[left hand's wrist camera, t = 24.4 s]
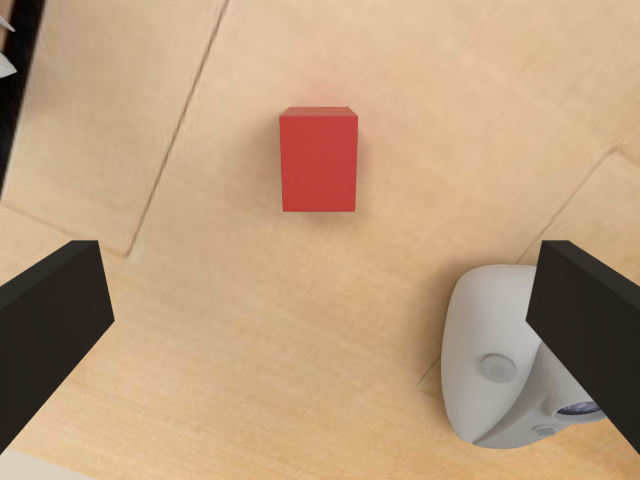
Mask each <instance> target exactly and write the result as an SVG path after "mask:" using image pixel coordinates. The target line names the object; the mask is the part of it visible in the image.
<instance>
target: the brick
mask: <svg viewBox="0 0 640 480" xmlns="http://www.w3.org/2000/svg"><path fill="white" fill-rule="evenodd" d="M357 133H358V116H357V115H356V114H355V113H354V112H353V111H352V110H351V109H350V108H349V107H290V108H288V109H287V110H286V111H285V112H284V113H283V114H282V115H281V116H280V144H281V172H282V200H283V211H284V212H354V211H355V197H356V165H357Z"/></svg>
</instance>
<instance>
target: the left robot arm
mask: <svg viewBox="0 0 640 480" xmlns="http://www.w3.org/2000/svg"><path fill="white" fill-rule="evenodd" d="M114 321H115V319H114V315H113V310H112V305H111V301H110V296H109V291H108V286H107V282H106V277H105V272H104V268H103V263H102V258H101V253H100V249H99V244H98V240H72V241H70V242H69V243H67V244H66V245H64V246H62V247H61V248H59V249H58V250H56V251H55V252H53V253H52V254H50V255H49V256H47V257H45V258H44V259H42V260H41V261H39V262H38V263H36V264H35V265H33V266H32V267H30V268H28V269H27V270H25V271H24V272H22V273H21V274H19V275H18V276H16V277H15V278H13V279H11V280H10V281H8V282H7V283H5V284H4V285H2V286H1V287H0V455H1V454H2V452H3V451H4V450H5V449H6V448H7V447H8V445H9V444H10V443H11V442H12V441H13V440H14V438H15V437H16V436H17V435H18V434H19V432H20V431H21V430H22V429H23V428H24V427H25V425H26V424H27V423H28V422H29V421H30V420H31V418H32V417H33V416H34V415H35V414H36V413H37V411H38V410H39V409H40V408H41V407H42V405H43V404H44V403H45V402H46V401H47V400H48V398H49V397H50V396H51V395H52V394H53V393H54V391H55V390H56V389H57V388H58V387H59V386H60V384H61V383H62V382H63V381H64V380H65V379H66V377H67V376H68V375H69V374H70V373H71V371H72V370H73V369H74V368H75V367H76V366H77V364H78V363H79V362H80V361H81V360H82V359H83V357H84V356H85V355H86V354H87V353H88V352H89V350H90V349H91V348H92V347H93V346H94V345H95V343H96V342H97V341H98V340H99V339H100V337H101V336H102V335H103V334H104V333H105V332H106V330H107V329H108V328H109V327H110V326H111V325H112V323H113V322H114ZM525 321H526V322H527V323H528V325H529V326H530V327H531V328H532V329H533V330H534V332H535V333H536V334H537V335H538V336H539V337H540V339H541V340H542V341H543V342H544V343H545V345H546V346H547V347H548V348H549V349H550V350H551V352H552V353H553V354H554V355H555V356H556V357H557V359H558V360H559V361H560V362H561V363H562V364H563V366H564V367H565V368H566V369H567V370H568V371H569V373H570V374H571V375H572V376H573V377H574V379H575V380H576V381H577V382H578V383H579V384H580V386H581V387H582V388H583V389H584V390H585V391H586V393H587V394H588V395H589V396H590V397H591V398H592V400H593V401H594V402H595V403H596V404H597V405H598V407H599V408H600V409H601V410H602V411H603V413H604V414H605V415H606V416H607V417H608V418H609V420H610V421H611V422H612V423H613V424H614V425H615V427H616V428H617V429H618V430H619V431H620V432H621V434H622V435H623V436H624V437H625V438H626V440H627V441H628V442H629V443H630V444H631V445H632V447H633V448H634V449H635V450H636V451H637V452H638V454H639V455H640V287H639V286H638V285H636V284H635V283H633V282H632V281H630V280H629V279H627V278H625V277H624V276H622V275H621V274H619V273H618V272H616V271H615V270H613V269H612V268H610V267H608V266H607V265H605V264H604V263H602V262H601V261H599V260H598V259H596V258H595V257H593V256H591V255H590V254H588V253H587V252H585V251H584V250H582V249H581V248H579V247H578V246H576V245H574V244H573V243H571V242H570V241H568V240H542V244H541V249H540V253H539V258H538V263H537V268H536V272H535V277H534V282H533V286H532V291H531V296H530V301H529V305H528V310H527V315H526V319H525Z"/></svg>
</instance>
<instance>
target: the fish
mask: <svg viewBox="0 0 640 480" xmlns="http://www.w3.org/2000/svg"><path fill="white" fill-rule="evenodd" d="M0 25H2V26H4V27H6V28H7V29H9V30H11V31H13V32H14V31H15V30H14V29H13V28H12V27H11V26H10V25H9V24H8V23H7V22H6V20H5V19H4V18H3V17H2V16H1V15H0ZM15 72H17V71H16V69H15V68H14V66H13V65H12V64H11V62H10V61H9V59H8V58H7V57H6V56H5V55H4V54H3V53H2V52H1V51H0V78H2V77H5V76H7V75H10V74H12V73H15Z"/></svg>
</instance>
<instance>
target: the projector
mask: <svg viewBox="0 0 640 480" xmlns="http://www.w3.org/2000/svg"><path fill="white" fill-rule="evenodd" d="M536 268H537V267H536V266H533V265H516V264H493V265H484V266H480V267H477V268H474V269H471V270H469V271H468V272H466V273H465V274H464V275H462V276H461V278H460V279H459V280H458V282H457V284H456V286H455V288H454V290H453V293H452V296H451V299H450V303H449V307H448V311H447V316H446V321H445V327H444V334H443V342H442V353H441V384H442V393H443V399H444V404H445V408H446V412H447V416H448V418H449V421H450V424H451V426H452V428H453V429H454V431H455V433H456V434H457V436H458V437H459V438H460V439H462V440H463V441H466V442H469V443H473V444H474V445H476V446H480V447H485V448H492V449H512V448H518V447H522V446H525V445H528V444H531V443H534V442H536V441H539V440H541V439H544V438H546V437H548V436H554V435H555V433H557V432H559V431H561V430H562V429H564V428H566V427H568V426H570V425H571V424H584V423H591V422H596V421H600V420H603V419H606V418H608V417H607V416H606V415H605V414H604V413H603V411H602V410H601V409H600V408H599V407H598V405H597V404H596V403H595V402H594V401H593V400H592V398H591V397H590V396H589V395H588V394H587V393H586V391H585V390H584V389H583V388H582V387H581V386H580V384H579V383H578V382H577V381H576V380H575V379H574V377H573V376H572V375H571V374H570V373H569V371H568V370H567V369H566V368H565V367H564V366H563V364H562V363H561V362H560V361H559V360H558V359H557V357H556V356H555V355H554V354H553V353H552V352H551V350H550V349H549V348H548V347H547V346H546V345H545V343H544V342H543V341H542V340H541V339H540V337H539V336H538V335H537V334H536V333H535V332H534V330H533V329H532V328H531V327H530V326H529V325H528V323H527V322H526V321H525V319H526V315H527V310H528V305H529V301H530V296H531V291H532V286H533V282H534V277H535V272H536Z"/></svg>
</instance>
